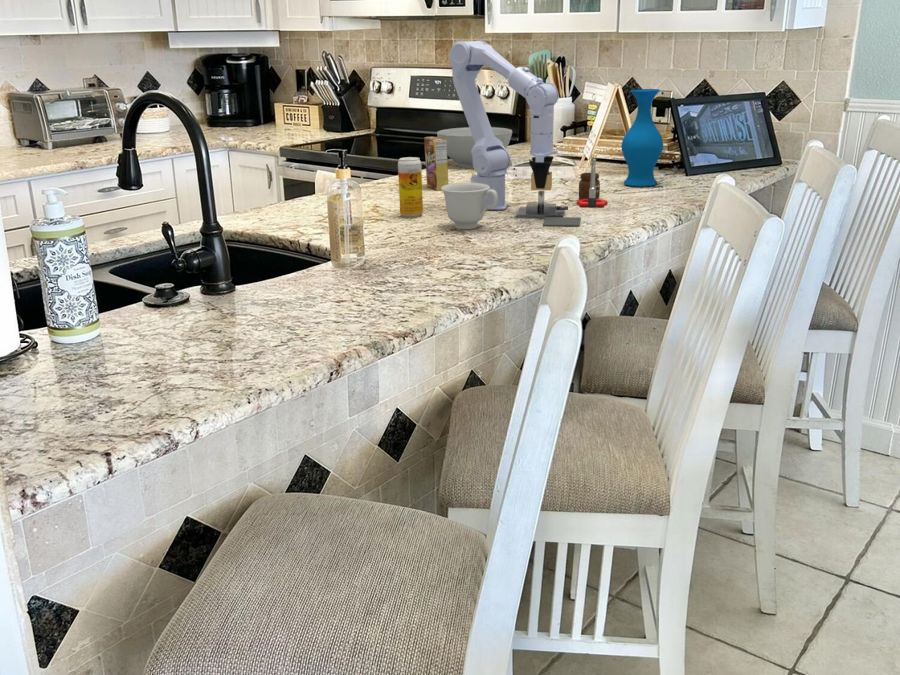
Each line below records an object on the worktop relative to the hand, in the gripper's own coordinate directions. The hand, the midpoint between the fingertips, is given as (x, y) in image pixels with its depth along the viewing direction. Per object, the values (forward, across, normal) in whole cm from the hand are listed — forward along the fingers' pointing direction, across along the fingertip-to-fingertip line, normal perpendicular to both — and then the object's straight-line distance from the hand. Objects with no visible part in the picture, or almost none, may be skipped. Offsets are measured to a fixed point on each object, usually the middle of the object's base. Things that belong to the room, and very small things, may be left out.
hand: (541, 186), depth 219 cm
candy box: (+8, +37, +35) cm, 51 cm away
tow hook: (+8, +14, -13) cm, 20 cm away
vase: (+8, +45, -27) cm, 53 cm away
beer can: (+8, -4, +34) cm, 35 cm away
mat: (+7, -10, -6) cm, 14 cm away
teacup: (+8, -17, +16) cm, 24 cm away
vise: (+7, 0, 0) cm, 7 cm away
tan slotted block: (+1, 0, 0) cm, 1 cm away
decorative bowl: (+8, +83, +30) cm, 89 cm away
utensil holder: (+8, +22, -12) cm, 26 cm away
